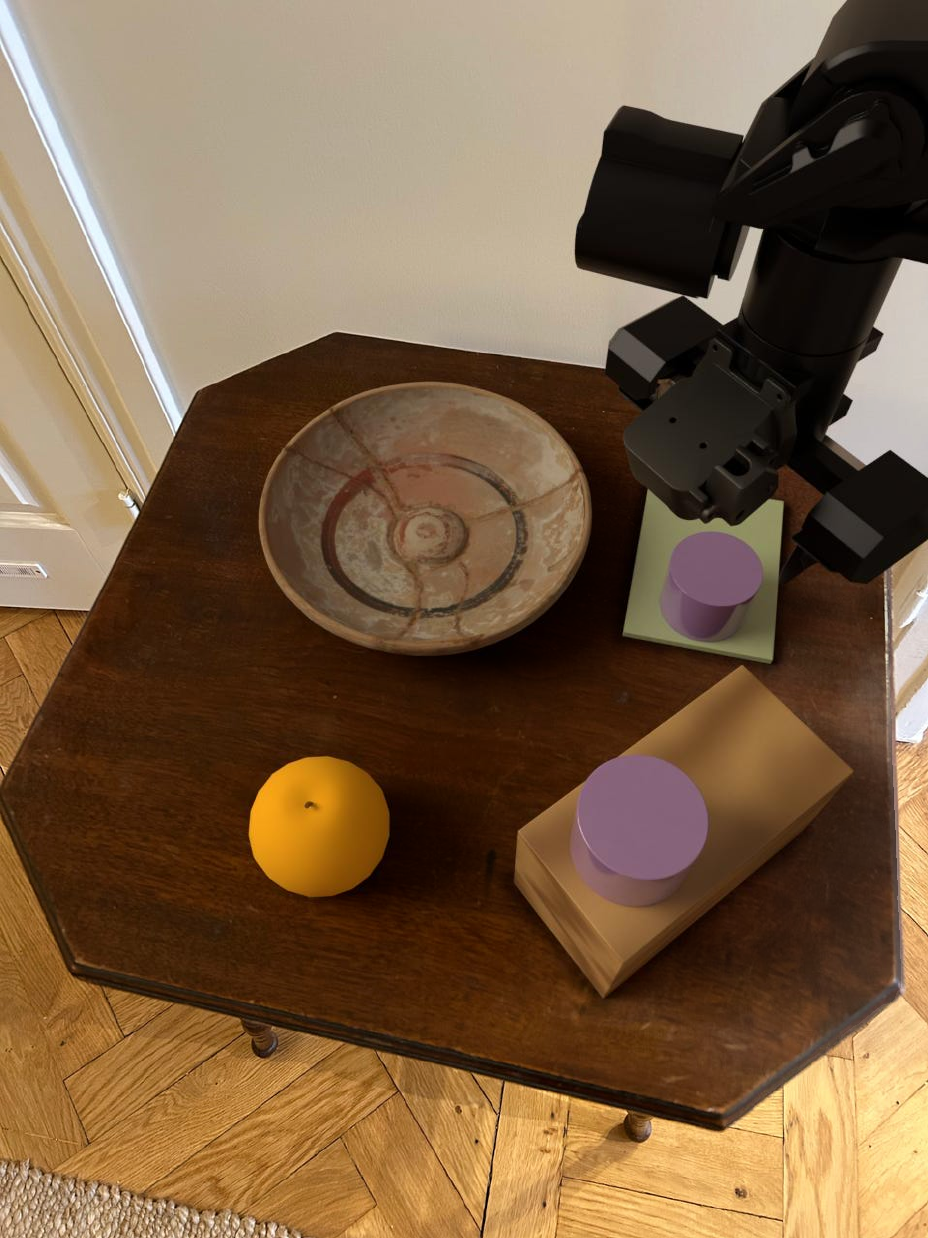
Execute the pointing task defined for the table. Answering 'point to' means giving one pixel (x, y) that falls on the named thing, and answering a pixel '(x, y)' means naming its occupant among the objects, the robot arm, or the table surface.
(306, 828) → the orange
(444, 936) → the table surface
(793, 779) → the block
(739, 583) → the purple round puck
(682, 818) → the lavender cylinder puck
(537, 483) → the ceramic bowl
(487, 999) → the table surface
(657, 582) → the placemat
